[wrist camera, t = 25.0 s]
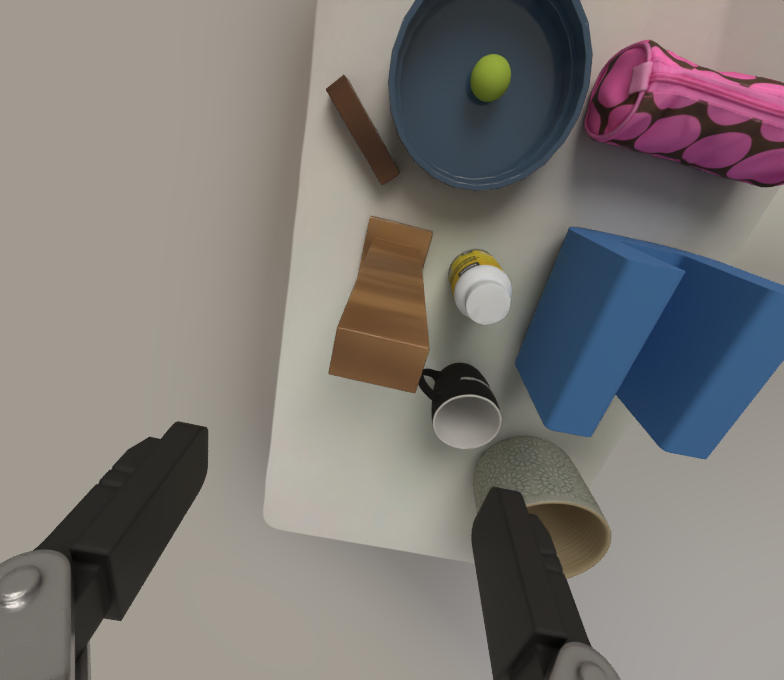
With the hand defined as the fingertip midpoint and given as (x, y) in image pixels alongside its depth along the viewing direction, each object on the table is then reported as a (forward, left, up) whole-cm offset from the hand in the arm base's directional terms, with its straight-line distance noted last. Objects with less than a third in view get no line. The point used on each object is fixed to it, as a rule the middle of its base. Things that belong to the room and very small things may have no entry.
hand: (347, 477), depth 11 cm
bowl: (-6, +15, -42) cm, 45 cm away
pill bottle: (+11, +4, -42) cm, 43 cm away
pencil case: (+9, +31, -42) cm, 53 cm away
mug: (+23, -7, -42) cm, 48 cm away
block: (+24, +15, -42) cm, 51 cm away
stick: (-10, +3, -39) cm, 41 cm away
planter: (+44, -6, -42) cm, 61 cm away
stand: (+3, -3, -42) cm, 42 cm away
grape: (-6, +16, -39) cm, 43 cm away
